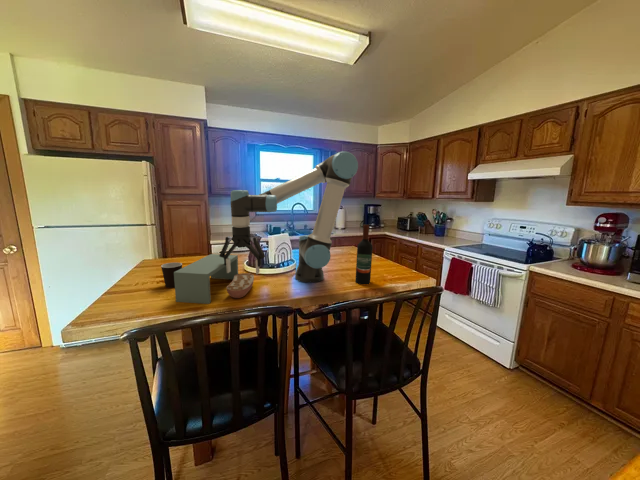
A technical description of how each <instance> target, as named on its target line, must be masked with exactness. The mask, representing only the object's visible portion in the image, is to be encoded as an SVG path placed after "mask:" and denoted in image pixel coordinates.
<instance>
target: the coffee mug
mask: <svg viewBox="0 0 640 480" xmlns="http://www.w3.org/2000/svg"><path fill="white" fill-rule="evenodd" d="M160 266H161V272H162V276H163V280H164V284H165V287H166V288H168V289H169V288H170V289H175V282H174V272H175V271H177V270H179V269H181V268H183V263H182V262H167V263H163V264H162V265H160Z"/></svg>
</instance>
